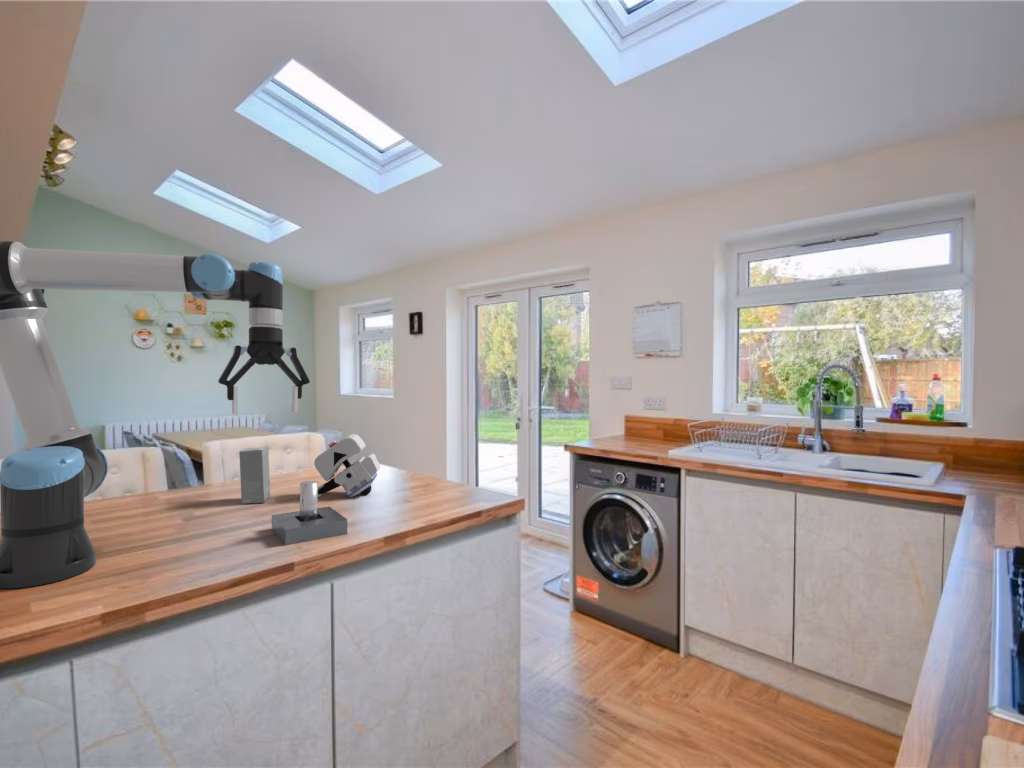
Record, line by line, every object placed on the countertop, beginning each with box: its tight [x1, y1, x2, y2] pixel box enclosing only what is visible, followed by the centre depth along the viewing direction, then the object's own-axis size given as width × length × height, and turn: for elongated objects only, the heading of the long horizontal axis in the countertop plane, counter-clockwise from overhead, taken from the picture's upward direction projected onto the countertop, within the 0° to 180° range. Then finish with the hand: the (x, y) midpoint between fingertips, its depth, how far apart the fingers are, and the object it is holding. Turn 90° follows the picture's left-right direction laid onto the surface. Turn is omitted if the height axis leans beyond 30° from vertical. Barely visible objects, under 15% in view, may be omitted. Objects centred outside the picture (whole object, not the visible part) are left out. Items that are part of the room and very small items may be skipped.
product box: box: [238, 446, 271, 504], centre depth 151 cm, size 8×7×16 cm
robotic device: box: [313, 433, 381, 498], centre depth 159 cm, size 10×21×20 cm
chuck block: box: [271, 506, 348, 546], centre depth 123 cm, size 14×14×4 cm
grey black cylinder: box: [299, 480, 319, 522], centre depth 123 cm, size 4×4×12 cm
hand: (265, 413), depth 125 cm, fingers open, 13 cm apart
